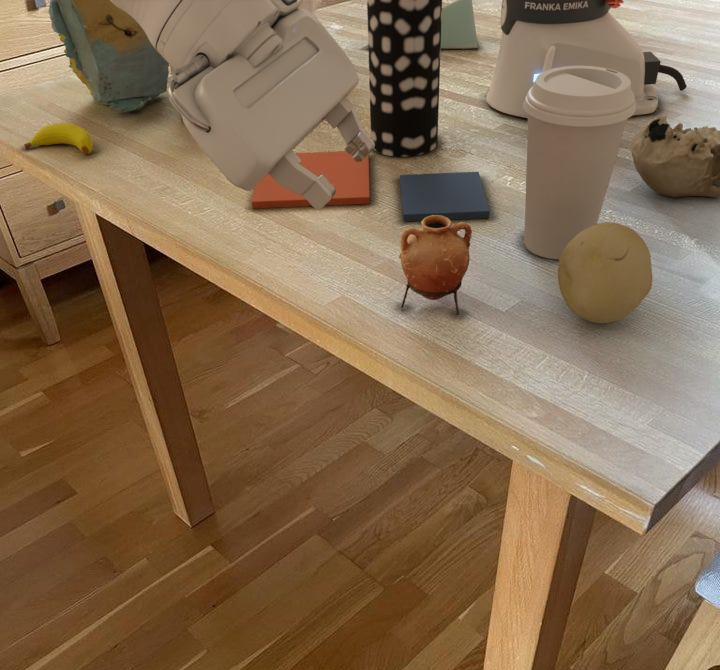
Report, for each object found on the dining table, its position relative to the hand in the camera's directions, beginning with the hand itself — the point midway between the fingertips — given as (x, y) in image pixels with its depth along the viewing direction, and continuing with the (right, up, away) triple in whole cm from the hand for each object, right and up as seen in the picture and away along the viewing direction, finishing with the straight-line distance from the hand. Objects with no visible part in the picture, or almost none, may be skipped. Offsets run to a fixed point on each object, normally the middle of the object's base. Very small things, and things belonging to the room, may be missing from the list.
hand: (349, 177), depth 63 cm
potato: (+22, -11, +3) cm, 24 cm away
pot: (+8, -9, +6) cm, 13 cm away
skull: (+36, +10, +23) cm, 44 cm away
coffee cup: (+21, -2, +12) cm, 24 cm away
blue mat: (+10, +6, +20) cm, 23 cm away
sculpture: (-33, +30, +47) cm, 65 cm away
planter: (+11, +45, +59) cm, 75 cm away
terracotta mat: (-5, +10, +25) cm, 27 cm away
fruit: (-36, +21, +36) cm, 55 cm away
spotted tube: (+6, +17, +32) cm, 37 cm away
